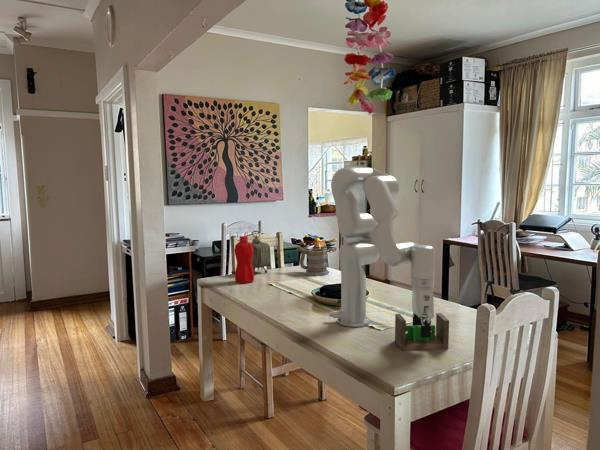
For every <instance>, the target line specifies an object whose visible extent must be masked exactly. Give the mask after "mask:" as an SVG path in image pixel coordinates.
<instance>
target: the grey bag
mask: <svg viewBox="0 0 600 450" xmlns="http://www.w3.org/2000/svg"><path fill="white" fill-rule="evenodd" d="M254 233H258V234H259V236H258V235H254ZM251 236H252V237H253V239H252V241H251V242H250V243H251V244H252V246H253V250H254V251H253V256H252V267H253V271H254V274H255V273H256V269H259V268H262V269H263V270H264V273H265V274H266V273H268V270H266V268H265V267H268V266H270V263H271V251H270V250H271V249H270V245H269V244H268V243H267V242H262V241H261V239H260V237H261V232H259V231H258V230H253V231H252V232H251Z"/></svg>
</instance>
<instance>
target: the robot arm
mask: <svg viewBox="0 0 600 450" xmlns="http://www.w3.org/2000/svg"><path fill="white" fill-rule="evenodd" d="M330 189H331V193H332V194H331V195H332V197H333V200H334V204H335V205H334V206H335V212H336V219H337V225H338V226H337V227H338V231H339V234H340V235H341V237H342V238H344V239H356V238H358V240H355V241H354V240H353V241H350V242H346V243H344V244H343V245H341V246H340V248H339V251H338V261H339V265H340V276H341V277H340V279H341V280H340V283H341V286H340V287H341V288H340V289H341V291H340V294H341V296H340V297H341V299H340V300H341V302H340V305H341V308H339V310H337V311H329V317H330V318H332V317H333V319H337V321H336V322H337V324H339V325H341V326H344V327H348V328H361V327H365V326H368V325H369V324H370V322H371V319H370V318H369V317H368V316H367V277H366V273H365V271H364V269H363V266H364V265H370V264H373V263H376V262H377V261H379V258H380V257H381V259H382V260H383V261H384V263H385V264H386V265H388V266H390V267H398V266H404V265H410V287H411V288H412V294H411V295H412V296H411V307H412V308H411V309H412V325H421V335H420V336H421V338H430V337H431V325H432V319H434V317H435V305H434V303H435V301H434V300H435V299H434V290H433V289H434V288H435V264H436V263H435V259H436V254H435V253H436V251H435V247H433V246H432V245H428V244H419V243H416V242H413V241H404V242H397V243H396V242H395V239H394V237H393V235H392V223H393V222H394V220H395V219H396V218H397V217H398V216H399V215H400V210H399V208H398V206H397V204H396V202H395V199H394V198H395V197H396V196H397V195H398V194H399V191H400V184H399V182H398V180H397V179H396V177H394V176H393V175H391V174H388V173H385V172H384V171H381V170H378V169H376V168H373V167H369V166H367V167H366V166H348V167H347V166H346V167H342V168H340V169H337V170H336V172H335V173H334V174H333V176H332V178H331V182H330ZM353 190H363V193H364V195H365V197H366V200H367V202H368V203H369V206H370V209H371V212H372V214H373V216H374V217H373V216H372V215H371V214H369V212H368V213H367V212H360V210H359V206H358V205H359V204H358V201H357V198H356V196H355V194H354V193H353V192H352V191H353ZM374 218H375V219H374Z"/></svg>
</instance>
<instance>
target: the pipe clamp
mask: <svg viewBox="0 0 600 450" xmlns="http://www.w3.org/2000/svg"><path fill="white" fill-rule="evenodd" d="M420 335H421V325H413V324H412V325H411V324H410V325H406V339H411V340H412V341H413V342H416V340H424V341H426V342H429V339H435V336H436V324H431V337H430V338H421V336H420Z"/></svg>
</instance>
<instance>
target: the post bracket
mask: <svg viewBox="0 0 600 450" xmlns="http://www.w3.org/2000/svg"><path fill="white" fill-rule="evenodd" d="M394 316H395V318H394V320H395V321H394V325H395V326H394V328H395V329H394V342H395V343H396V344H397V346H398V347H399V349H400V350H433V349H434V350H437V349H439V350H442V349H444V350H447V349H449V340H450V320H449V319H448V318H447V317H446V316H445V315H444V314H443V313H441V312H436V315H435V318H436V320H435V339H429V342H426V341H424V340H416V342H413V341H412V340H411V339H406V333H407V332H406V326H407V320H406V319H405V318H404V317H403V316H402V315H401V313H395V315H394Z"/></svg>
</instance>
